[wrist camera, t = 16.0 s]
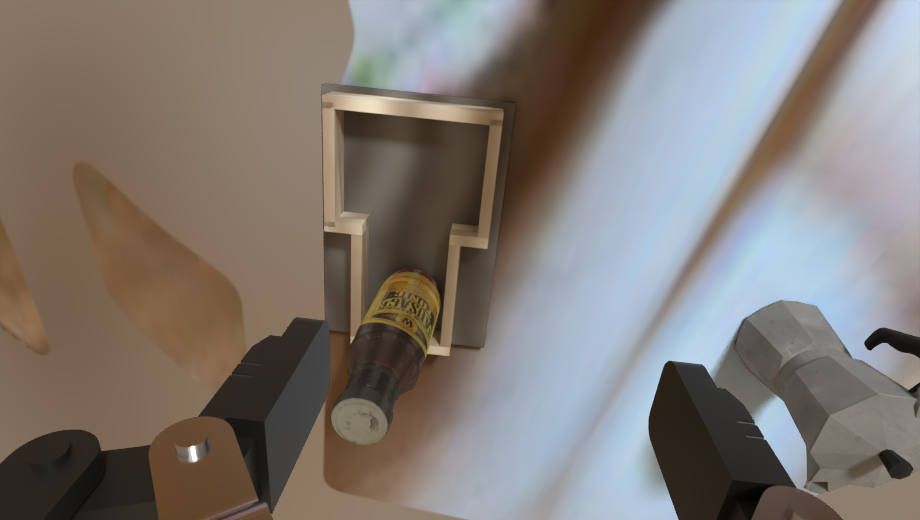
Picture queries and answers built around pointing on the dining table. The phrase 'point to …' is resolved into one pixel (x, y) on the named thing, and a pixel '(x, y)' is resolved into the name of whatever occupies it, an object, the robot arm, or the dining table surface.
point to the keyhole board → (412, 202)
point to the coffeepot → (835, 396)
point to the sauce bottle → (386, 355)
